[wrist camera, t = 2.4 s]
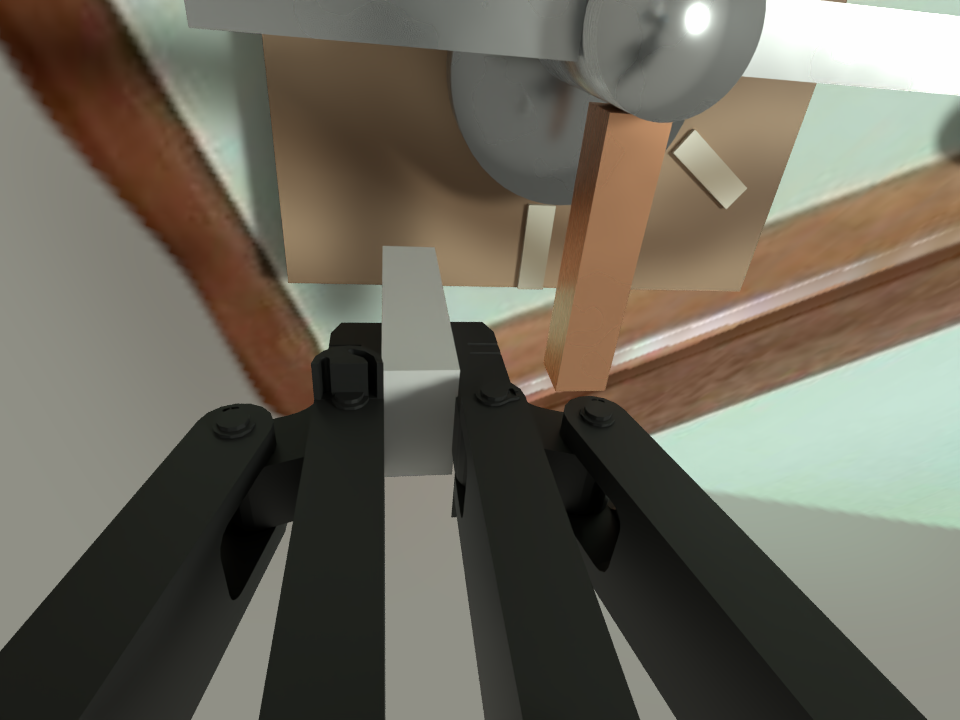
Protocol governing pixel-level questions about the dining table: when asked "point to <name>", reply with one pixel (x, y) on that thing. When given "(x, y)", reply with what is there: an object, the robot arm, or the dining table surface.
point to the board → (476, 195)
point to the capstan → (609, 103)
